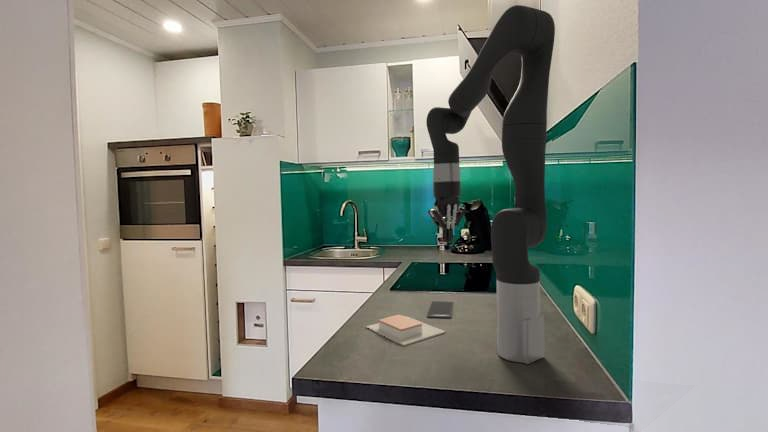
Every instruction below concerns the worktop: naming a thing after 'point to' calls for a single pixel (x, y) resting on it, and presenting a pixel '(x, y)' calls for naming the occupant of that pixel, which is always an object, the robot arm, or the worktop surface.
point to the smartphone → (440, 309)
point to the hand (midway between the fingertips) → (448, 241)
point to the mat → (426, 333)
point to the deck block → (400, 326)
